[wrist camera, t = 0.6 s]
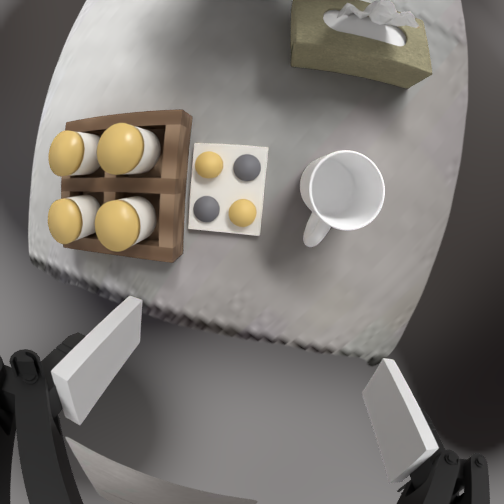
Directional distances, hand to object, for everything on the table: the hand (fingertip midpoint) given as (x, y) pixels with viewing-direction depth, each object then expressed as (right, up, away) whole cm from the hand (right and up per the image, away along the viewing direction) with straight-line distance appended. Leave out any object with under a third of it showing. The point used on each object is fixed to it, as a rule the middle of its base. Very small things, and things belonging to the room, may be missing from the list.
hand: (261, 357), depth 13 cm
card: (-4, +14, +24) cm, 28 cm away
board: (-20, +16, +25) cm, 35 cm away
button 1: (-24, +19, +19) cm, 37 cm away
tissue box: (+14, +35, +17) cm, 42 cm away
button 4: (-16, +10, +21) cm, 28 cm away
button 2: (-25, +11, +22) cm, 35 cm away
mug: (+9, +13, +24) cm, 28 cm away
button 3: (-15, +18, +19) cm, 31 cm away
